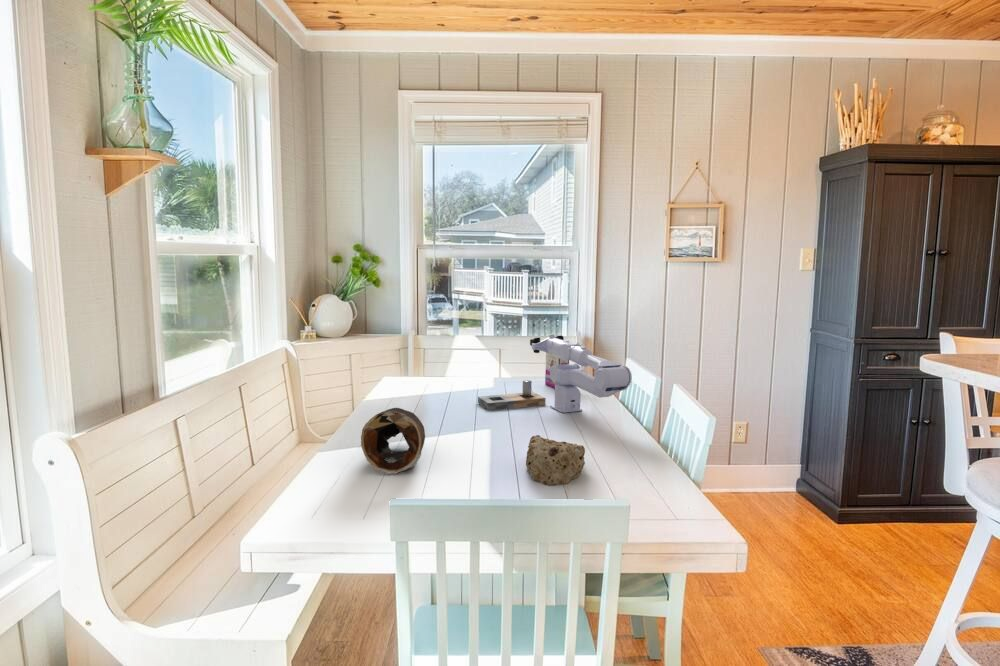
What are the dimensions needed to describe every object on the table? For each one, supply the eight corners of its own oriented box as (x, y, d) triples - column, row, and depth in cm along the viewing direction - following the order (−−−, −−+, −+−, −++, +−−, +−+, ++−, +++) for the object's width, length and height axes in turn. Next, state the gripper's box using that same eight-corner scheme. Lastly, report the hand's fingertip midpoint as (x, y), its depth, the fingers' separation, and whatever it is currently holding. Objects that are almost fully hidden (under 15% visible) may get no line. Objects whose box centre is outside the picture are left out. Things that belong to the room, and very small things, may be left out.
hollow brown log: (427, 400, 168) (418, 406, 143) (434, 455, 167) (426, 470, 142) (374, 407, 168) (356, 413, 143) (381, 462, 167) (364, 478, 142)
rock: (520, 460, 157) (529, 424, 157) (573, 474, 157) (583, 437, 157) (523, 481, 137) (534, 439, 137) (584, 497, 137) (595, 455, 137)
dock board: (545, 404, 213) (545, 398, 213) (488, 410, 204) (488, 403, 204) (533, 398, 222) (533, 392, 222) (477, 403, 214) (477, 396, 213)
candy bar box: (569, 389, 239) (570, 348, 237) (558, 390, 237) (559, 349, 235) (555, 383, 249) (556, 344, 247) (544, 384, 247) (545, 345, 245)
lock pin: (532, 403, 215) (533, 381, 214) (524, 404, 214) (525, 382, 213) (528, 401, 218) (529, 379, 217) (520, 402, 216) (521, 380, 215)
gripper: (575, 334, 213) (557, 329, 225) (539, 337, 207) (522, 332, 219) (575, 353, 214) (556, 347, 226) (539, 357, 208) (522, 351, 221)
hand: (540, 341), depth 223 cm, fingers open, 7 cm apart
